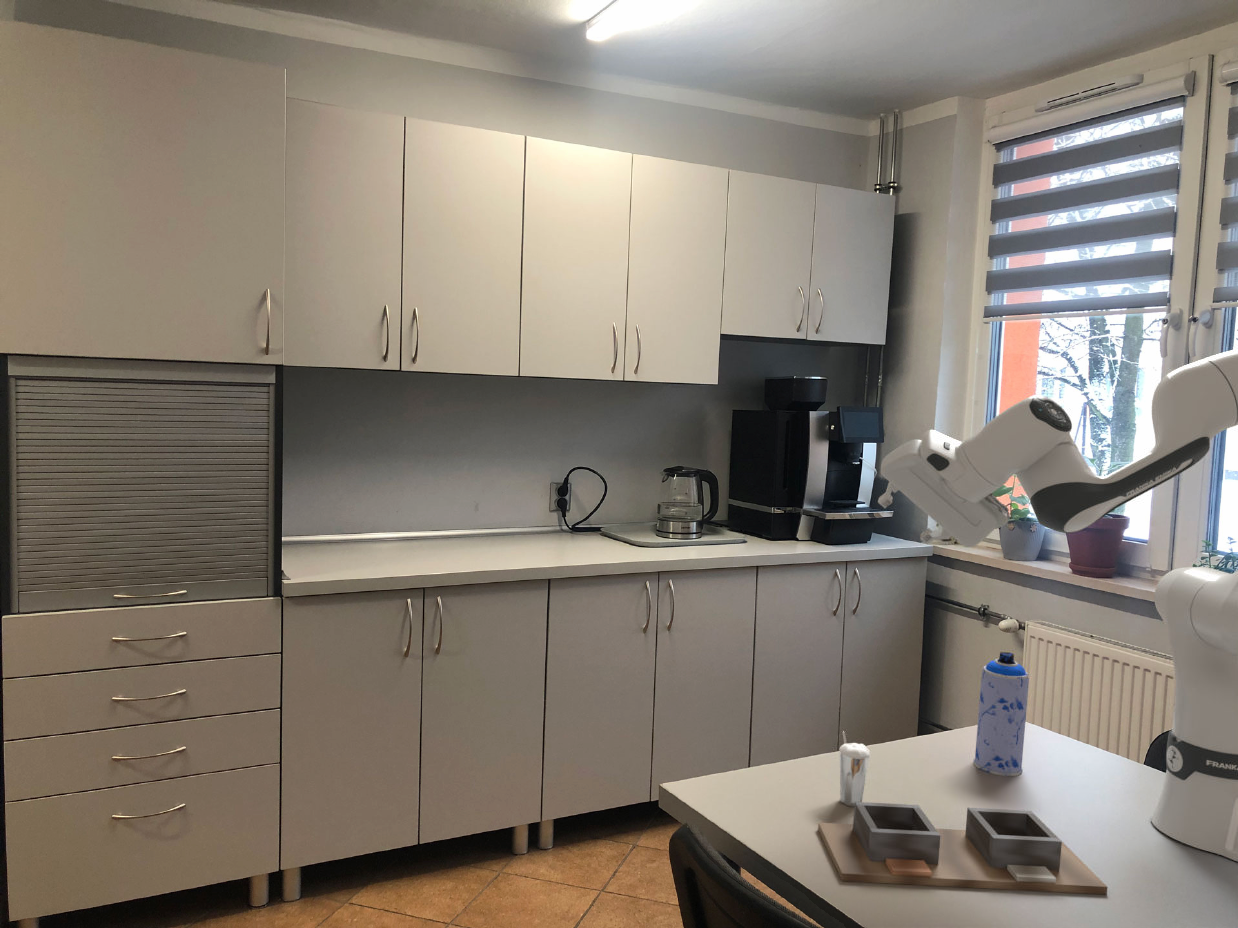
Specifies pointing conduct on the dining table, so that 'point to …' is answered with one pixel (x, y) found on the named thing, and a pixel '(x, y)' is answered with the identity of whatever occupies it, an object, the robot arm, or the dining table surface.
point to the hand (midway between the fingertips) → (902, 521)
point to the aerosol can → (1002, 717)
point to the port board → (955, 851)
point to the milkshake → (852, 771)
